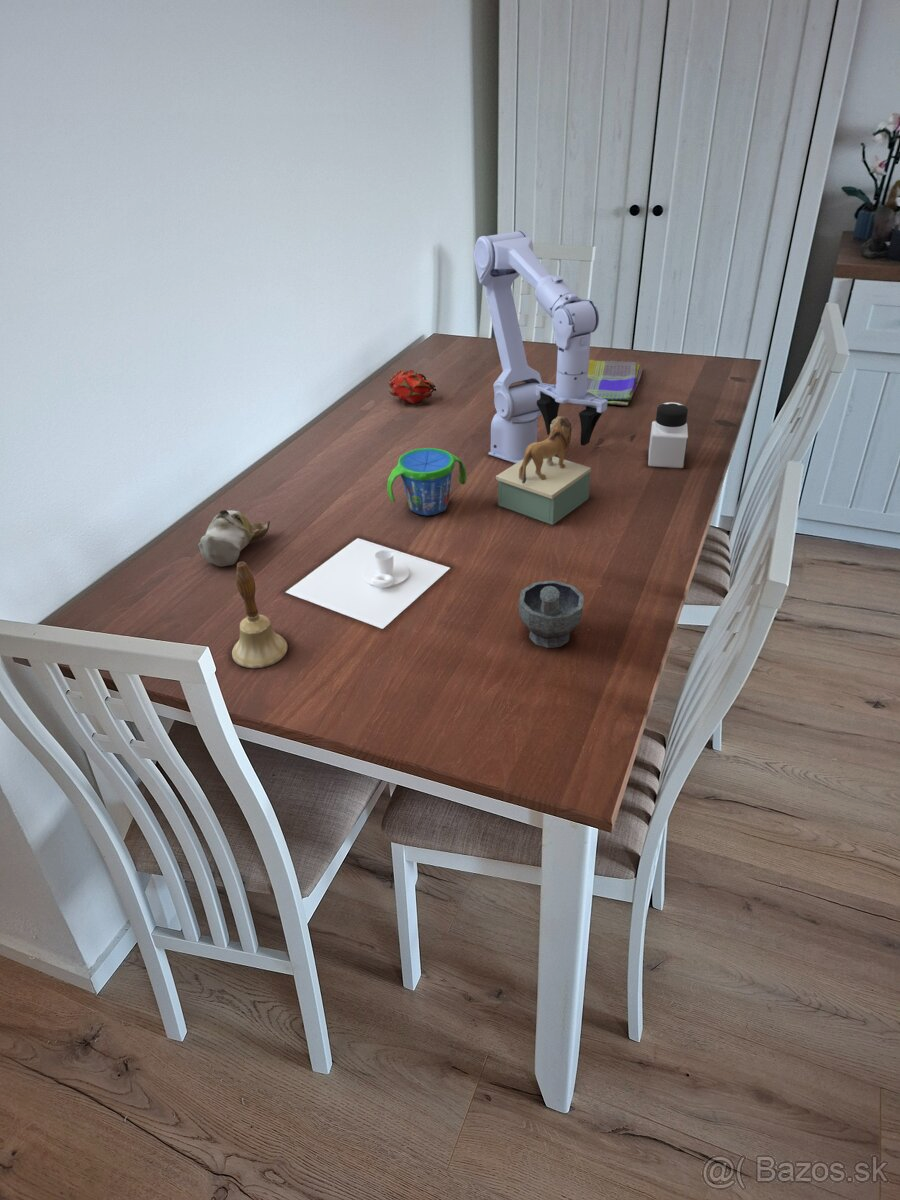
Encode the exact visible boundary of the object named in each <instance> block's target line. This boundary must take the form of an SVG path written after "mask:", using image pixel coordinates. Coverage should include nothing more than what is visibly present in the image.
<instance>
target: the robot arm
mask: <svg viewBox="0 0 900 1200" xmlns="http://www.w3.org/2000/svg"><path fill="white" fill-rule="evenodd" d="M472 255H473V261H474V265H475V269H476V274H477V279H478V282H479V284H480V285H482V286H483V288H484V292H485V297H486V302H487V307H488V312H489V316H490V320H491V324H492V330H493V333H494V337H495V342H496V347H497V351H498V356H499V360H500V365H501V370H502V372H501V373H500V375H499V376H498V377H497V378H496V380H495V382H493V385H492V387H493V393H494V398H493V403H494V408H495V411H496V413H495V414H494V415H493V417H492V420H491V424H490V451H488V456H492V457H494V458H498V459H500V460H504V461H507V462H510V463H513V464H516V463H517V462H519V461H521V460H522V459H524V455H525V450H526V448H527V447H528V446H529V445H530V444H531V443H534V442H538V426H539V424H538V423H539V417H541V416H542V418H543V421H544V426H545V430H546V435H547V436H549V434H550V424H552V421H553V420H554V419H556V417H557V416H559V415H558V413H559V409H560V405H561V404H563V405H564V404H566V403H567V404H572V405H576V406H579V407H584V408H585V409H583V410H581V411H580V412H578V417H579V421H580V445H581V446H587V445H589V443H590V441H591V438H592V435H593V432H594V431H595V430H594V429H595V427H596V425H597V424H598V422H599V420H600V418H601V417H602V415H603V413H604V412H606V411H607V410H608V404H607V401H608V400H606V399H603V398H600V397H598V396H596V395H594V394H592V393H590V392H588V391H587V379H588V366H589V360H590V352H591V351H590V350H591V340H592V339H591V337H592V333H595V332H596V331H597V329H598V328H599V324H600V314H599V310H598V308H597V307H598V306H597V305H596V304H595V302H594V300H592V299H591V298H583V297H579V296H578V295H577V294H576V292H575V291H574V290H573V289H572V288H571V287H570V286H569V285H568V284H567V283H566V282H565V280H564V278H563V277H562V276H561V275H558V274H550V273H549V272H548V271H547V269H546V268H545V266H544V265H543V263H542V262H541V261H540V259H539V258H538V257H537V255H536V254H535V253H534V246H533V240H532V238H531V237H529V235H528V233H527V232H526V231H525V230H523V229H518V230H515V231H511V232H505V233H498V234H491V235H481V236H479V237H478V238H477V240H476V242H475V245H474V250H473V253H472ZM519 277H522V278H523V280H525V281H526V282H527V283H528V284H529V285H530V286H531V287H532V288H534V290H535V291H534V298H535V300H536V301H537V303H538V304H539V305H540V306H541V307H542V308H543V310H544V311H545V312H546V314H548V315H549V317H550V318H551V323H552V328H553V329H552V330H553V331H554V336H555V338H554V342H555V345H556V346H557V357H556V377H555V378H556V379H555V384H552V383H551V384H550V383H545V382H543V380H542V377H541V373H540V372H538V370H536V369H534V368H532V367H530V365H529V364H528V360H527V355H526V351H525V345H524V342H523V341H524V340H523V336H522V331H521V328H520V327H521V326H520V322H519V317H518V314H517V310H516V303H515V300H514V295H513V290H512V285H513V283H514V281H515V280H516V279H518V278H519ZM520 382H522V383H520ZM516 383H520V384H516ZM513 384H516V385H513ZM511 385H512V386H511Z"/></svg>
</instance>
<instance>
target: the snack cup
mask: <svg viewBox="0 0 900 1200" xmlns="http://www.w3.org/2000/svg"><path fill="white" fill-rule="evenodd" d="M456 462H458V471H459V474H458V482H459V484H460V485H466V482H467V470H466V467H465V464H464V462H463V461H462V460H461V459H460V458H459V457H458V456H456V455H454V454H452V453H451V452H449V451H447V450H444V449H441V448H438V447H437V448H436V447H421V448H415V449H411V450H409V451H407V452H405V453H403V454H401V455H400V457H398V460H397V465H396V466H395V467H394V468H393V469H392V470H391V472H390V474H389V476H388V479H387V484H386V491H387V495H388V497H389V499H390V501H391V502H392V503H395V502H396V499H395V496H394V490H393V484H394V482H395V481H396V479H397V477H399V476H400V478H401V479H402V484H403V487H404V492H405V496H406V501H407V504H408V507H409V510H410V511H411V512H413V513H415V514H417V515H420V516H425V517H429V516H435V515H437V514H440V513H443V512H445V511H446V510H447V507H448V505H449V501H450V494H451V493H450V492H451V483H452V475H453V470H454V468H455V463H456Z"/></svg>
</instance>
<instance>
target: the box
mask: <svg viewBox="0 0 900 1200" xmlns="http://www.w3.org/2000/svg"><path fill="white" fill-rule="evenodd" d="M591 473H592V472H589V473H588V474H586V475H585V476H583V477H582V478H581V479H579V480H578V481H576V482H575V483H574V484H572V485H571V486H569V487H568V488H567V489H565V490H564V491H562V492H561V493H560V494H558V495H557V496H555V497H554V498H552V499H551V498H548V497H545V496H542V495H539V494H536V493H533V492H530V491H527V490H524V489H521V488H518V487H515V486H512V485H510V484H507V483H504V482H501V481H498V480H497V506H499V507H501V508H504V509H506V510H510V511H513V512H516V513H519V514H520V515H524V516H526V517H529V518H532V519H535V520H537V521H541V522H543V523H546V524H548V525H552V526H553V525H555V524H556V523H557V522H559V521H561V520H562V519H563V518H564V517H565V516H567V515H568V514H570V513H572V512H573V511H574V510H575V509H577V508H578V507H579V506H581V505H582V504H584V502H586V501H587V500H588V499H589V498H590V485H591Z"/></svg>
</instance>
